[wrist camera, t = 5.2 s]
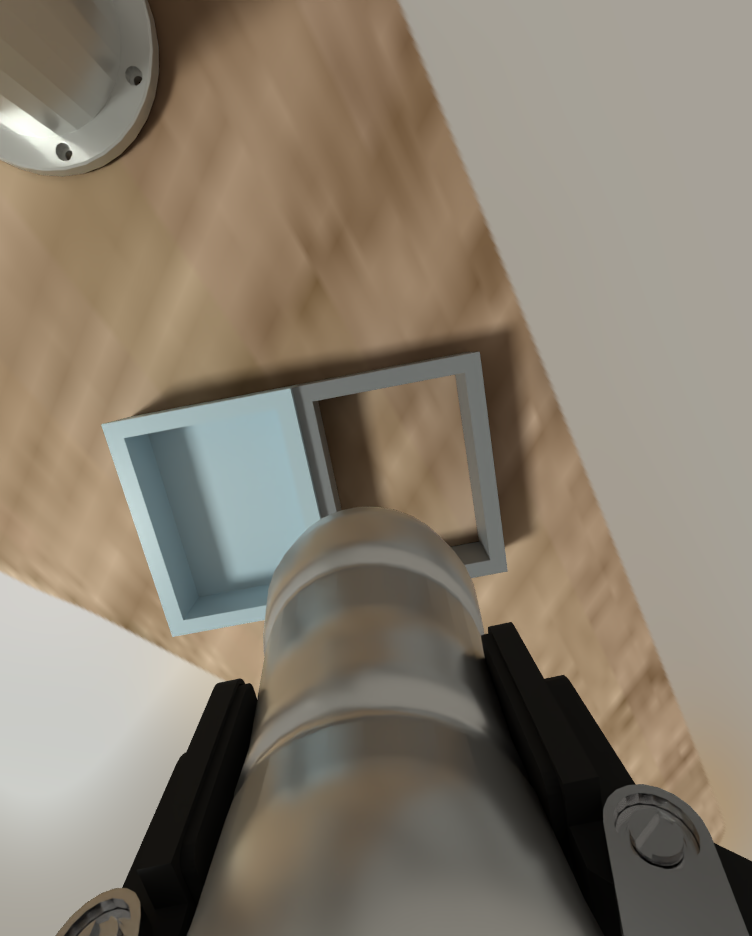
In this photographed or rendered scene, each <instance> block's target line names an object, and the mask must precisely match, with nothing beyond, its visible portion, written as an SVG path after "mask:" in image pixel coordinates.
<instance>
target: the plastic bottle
mask: <svg viewBox="0 0 752 936" xmlns="http://www.w3.org/2000/svg"><path fill="white" fill-rule="evenodd" d="M481 635H484V628H483V623H482V618H481V614H480V609H479V605H478V600H477V596H476V592H475V588H474V584H473V582H472V580H471V577H470V575H469V573H468V571H467V569H466V567H465V565H464V564H463V562H462V561H461V560H460V558H459V557H458V556H457V554H456V553H455V552H454V550H453V549H452V548H451V547H450V546H449V545H448V544H447V543H446V542H445V541H444V540H443V539H442V538H441V537H440V536H439V535H438V534H437V533H435V532H434V531H433V530H432V529H431V528H430V527H429V526H428V525H426V524H424V523H423V522H421V521H419V520H418V519H416V518H414V517H413V516H410V515H408V514H405V513H402V512H400V511H397V510H394V509H388V508H382V507H355V508H350V509H346V510H341V511H338V512H336V513H333V514H331V515H328V516H326V517H324V518H322V519H320V520H319V521H318V522H316V523H315V524H313V525H312V526H310V527H309V528H308V529H307V530H306V531H305V532H304V533H303V534H302V535H301V536H300V537H299V538H298V539H297V540H296V541H295V542H294V544H293V545H292V546H291V547H290V549H289V550H288V551H287V552H286V553H285V555H284V556H283V558H282V560H281V561H280V563H279V565H278V566H277V568H276V569H275V571H274V574H273V577H272V580H271V583H270V586H269V589H268V596H267V605H266V614H265V623H264V633H263V639H264V656H265V657H264V663H263V669H262V675H261V681H260V687H259V693H258V699H257V705H256V711H255V717H254V722H253V728H252V734H251V740H250V746H249V750H248V753H247V756H246V759H245V762H244V765H243V768H242V771H241V774H240V777H239V780H238V783H237V786H236V789H235V792H234V799H233V801H232V803H231V806H230V809H229V812H228V814H227V817H226V820H225V823H224V826H223V829H222V832H221V835H220V838H219V841H218V844H217V847H216V850H215V853H214V856H213V859H212V862H211V865H210V869H209V872H208V875H207V878H206V881H205V884H204V887H203V890H202V893H201V896H200V899H199V902H198V905H197V909H196V912H195V915H194V918H193V921H192V924H191V926H190V929H189V931H188V934H187V936H604V934H603V932H602V931H601V929H600V927H599V925H598V923H597V921H596V919H595V918H594V916H593V914H592V912H591V910H590V908H589V907H588V905H587V903H586V901H585V899H584V897H583V895H582V893H581V890H580V888H579V886H578V884H577V882H576V879H575V877H574V875H573V873H572V871H571V868H570V866H569V864H568V862H567V860H566V857H565V855H564V853H563V851H562V849H561V847H560V844H559V842H558V840H557V838H556V836H555V834H554V832H553V830H552V827H551V825H550V823H549V821H548V818H547V816H546V814H545V812H544V810H543V807H542V805H541V803H540V801H539V798H538V796H537V794H536V792H535V790H534V788H533V787H532V786H531V785H530V783H529V778H528V774H527V772H526V770H525V767H524V765H523V763H522V761H521V759H520V756H519V754H518V752H517V750H516V748H515V746H514V743H513V741H512V739H511V736H510V733H509V729H508V726H507V724H506V721H505V718H504V715H503V712H502V709H501V706H500V703H499V700H498V697H497V694H496V691H495V688H494V685H493V682H492V679H491V676H490V673H489V670H488V667H487V664H486V661H485V657H484V652H483V646H482V640H481Z"/></svg>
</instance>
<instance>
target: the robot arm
mask: <svg viewBox="0 0 752 936" xmlns="http://www.w3.org/2000/svg"><path fill="white" fill-rule="evenodd" d="M158 75H159V46H158V40H157V34H156V28H155V22H154V18H153V15H152V12H151V9H150V6H149V3H148V0H0V160H2V161H4V162H6V163H8V164H10V165H12V166H14V167H16V168H18V169H21V170H25V171H29V172H32V173H36V174H39V175H49V176H70V175H77V174H84V173H87V172H89V171H92V170H94V169H97V168H100V167H102V166H104V165H106V164H107V163H109V162H110V161H112V160H113V159H115V158H116V157H118V156H119V155H120V154H122V152H123V151H124V150H125V149H126V148H127V147H128V146H129V145H130V144H131V143H132V142H133V141H134V140H135V139H136V137H137V135H138V134H139V132H140V130H141V129H142V127H143V125H144V124H145V122H146V120H147V118H148V115H149V113H150V110H151V107H152V104H153V101H154V99H155V94H156V88H157V82H158ZM140 81H141V83H140V84H138V83H139V82H140ZM71 155H72V157H71ZM70 157H71V159H70ZM488 633H489V634H484V635H481V640H482V646H483V652H484V657H485V661H486V664H487V667H488V670H489V673H490V676H491V679H492V682H493V685H494V688H495V691H496V694H497V697H498V700H499V703H500V706H501V709H502V712H503V715H504V718H505V721H506V724H507V726H508V729H509V733H510V736H511V739H512V741H513V743H514V746H515V748H516V750H517V752H518V754H519V756H520V759H521V761H522V763H523V765H524V767H525V770H526V772H527V774H528V778H529V783H530V785H531V786H532V787H533V788H534V790H535V792H536V794H537V796H538V798H539V801H540V803H541V805H542V807H543V810H544V812H545V814H546V816H547V818H548V821H549V823H550V825H551V827H552V830H553V832H554V834H555V836H556V838H557V840H558V842H559V844H560V847H561V849H562V851H563V853H564V855H565V857H566V860H567V862H568V864H569V866H570V868H571V871H572V873H573V875H574V877H575V879H576V882H577V884H578V886H579V888H580V890H581V893H582V895H583V897H584V899H585V901H586V903H587V905H588V907H589V908H590V910H591V912H592V914H593V916H594V918H595V919H596V921H597V923H598V925H599V927H600V929H601V931H602V932H603V934H604V936H752V861H750V860H748V859H746V858H744V857H742V856H740V855H738V854H736V853H734V852H732V851H729V850H727V849H725V848H723V847H721V846H719V845H717V844H715V843H713V840H712V837H711V835H710V833H709V831H708V829H707V828H706V826H705V824H704V822H703V820H702V819H701V818H700V817H699V815H698V814H697V813H696V812H695V811H694V810H693V809H692V808H691V807H690V806H689V805H688V804H687V803H685V802H684V801H682V800H681V799H680V798H678V797H677V796H675V795H674V794H672V793H669V792H667V791H665V790H663V789H661V788H658V787H653V786H649V785H644V784H638V785H636V784H635V783H634V781H633V780H632V778H631V777H630V775H629V773H628V772H627V770H626V769H625V767H624V766H623V764H622V762H621V761H620V759H619V758H618V756H617V755H616V753H615V751H614V750H613V748H612V747H611V745H610V743H609V742H608V740H607V739H606V737H605V736H604V734H603V732H602V731H601V729H600V728H599V726H598V725H597V723H596V721H595V720H594V718H593V717H592V715H591V714H590V712H589V710H588V709H587V707H586V706H585V704H584V703H583V701H582V699H581V698H580V696H579V695H578V693H577V692H576V690H575V688H574V687H573V685H572V684H571V682H570V681H569V679H568V678H567V677H566V676H564V675H561V676H556V677H551V678H546V679H544V678H543V676H542V674H541V673H540V671H539V669H538V667H537V665H536V664H535V662H534V660H533V658H532V657H531V655H530V653H529V651H528V649H527V648H526V646H525V644H524V642H523V641H522V639H521V637H520V635H519V633H518V632H517V630H516V628H515V626H514V625H513V623H512V622H509V623H504V624H499V625H495V626H490V627H488ZM256 705H257V697H256V694H255V691H254V688H253V686H252V685H251V684H250V683H248V684H245V682H244V681H243V680H242V679H235V680H231V681H226V682H221V683H217V684H216V685H215V687H214V689H213V691H212V693H211V696H210V698H209V701H208V703H207V706H206V708H205V710H204V712H203V715H202V717H201V719H200V722H199V724H198V726H197V729H196V731H195V733H194V736H193V738H192V740H191V743H190V745H189V747H188V750H187V752H186V753H184V754H183V755H182V756H181V757H180V758H179V760H178V762H177V764H176V766H175V768H174V771H173V773H172V775H171V777H170V780H169V782H168V784H167V787H166V789H165V791H164V793H163V796H162V798H161V800H160V803H159V805H158V807H157V809H156V812H155V814H154V816H153V819H152V821H151V823H150V825H149V828H148V830H147V832H146V835H145V837H144V839H143V841H142V844H141V846H140V849H139V851H138V853H137V855H136V857H135V860H134V862H133V865H132V867H131V869H130V871H129V873H128V876H127V878H126V880H125V883H124V885H123V887H122V888H115V889H112V890H109V891H106V892H103V893H101V894H99V895H98V896H96V897H95V898H93V899H91V900H90V901H88V902H87V903H85V904H84V905H83V906H82V907H81V908H80V909H79V910H78V911H76V912H75V913H74V914H73V915H72V916H71V917H70V918H69V920H68V921H67V922H66V923H65V924H64V925H63V927H62V928H61V929H60V930H59V931H58V933H57V934H56V936H187V934H188V931H189V929H190V926H191V924H192V921H193V918H194V915H195V912H196V909H197V905H198V902H199V899H200V896H201V893H202V890H203V887H204V884H205V881H206V878H207V875H208V872H209V869H210V865H211V862H212V859H213V856H214V853H215V850H216V847H217V844H218V841H219V838H220V835H221V832H222V829H223V826H224V823H225V820H226V817H227V814H228V812H229V809H230V806H231V803H232V801H233V799H234V792H235V789H236V786H237V783H238V780H239V777H240V774H241V771H242V768H243V765H244V762H245V759H246V756H247V753H248V750H249V746H250V740H251V734H252V728H253V722H254V717H255V711H256Z"/></svg>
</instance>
